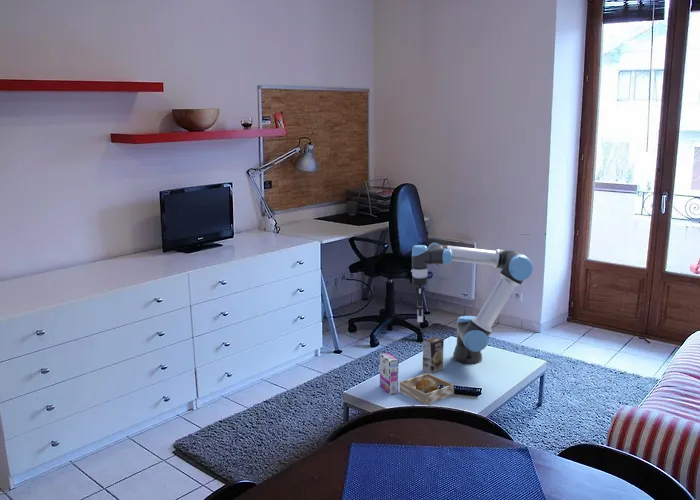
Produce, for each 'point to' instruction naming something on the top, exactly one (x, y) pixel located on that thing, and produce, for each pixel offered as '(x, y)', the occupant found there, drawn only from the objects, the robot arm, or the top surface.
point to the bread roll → (426, 385)
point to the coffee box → (433, 354)
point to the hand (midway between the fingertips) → (420, 317)
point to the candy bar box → (389, 373)
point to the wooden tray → (410, 390)
